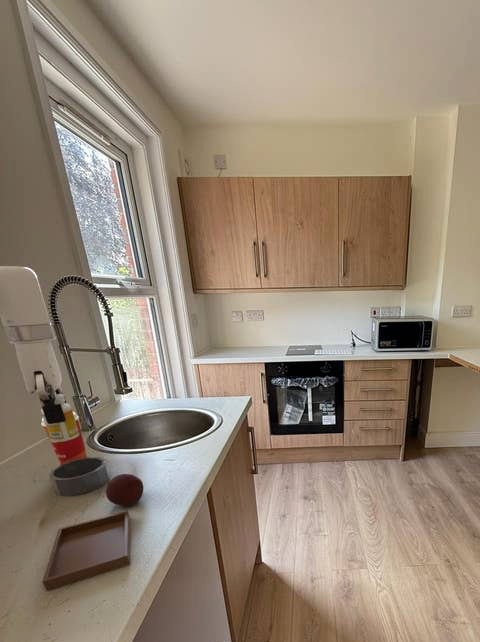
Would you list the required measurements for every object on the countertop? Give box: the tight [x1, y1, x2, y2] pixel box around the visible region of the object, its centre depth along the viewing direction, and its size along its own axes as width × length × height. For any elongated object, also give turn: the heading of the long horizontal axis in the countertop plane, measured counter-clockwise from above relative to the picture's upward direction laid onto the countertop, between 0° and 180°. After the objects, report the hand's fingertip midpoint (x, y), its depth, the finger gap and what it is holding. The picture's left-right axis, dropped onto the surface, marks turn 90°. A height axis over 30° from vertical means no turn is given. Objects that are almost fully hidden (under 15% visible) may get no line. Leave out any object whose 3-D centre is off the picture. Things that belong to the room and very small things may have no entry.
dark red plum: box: [105, 473, 144, 507], centre depth 79 cm, size 7×8×7 cm
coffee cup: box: [40, 411, 88, 465], centre depth 94 cm, size 8×8×15 cm
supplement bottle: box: [40, 393, 79, 442], centre depth 77 cm, size 5×5×10 cm
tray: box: [42, 510, 131, 592], centre depth 65 cm, size 12×15×2 cm
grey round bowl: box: [48, 456, 111, 497], centre depth 87 cm, size 12×12×4 cm
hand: (58, 417), depth 77 cm, fingers closed on supplement bottle, 5 cm apart
